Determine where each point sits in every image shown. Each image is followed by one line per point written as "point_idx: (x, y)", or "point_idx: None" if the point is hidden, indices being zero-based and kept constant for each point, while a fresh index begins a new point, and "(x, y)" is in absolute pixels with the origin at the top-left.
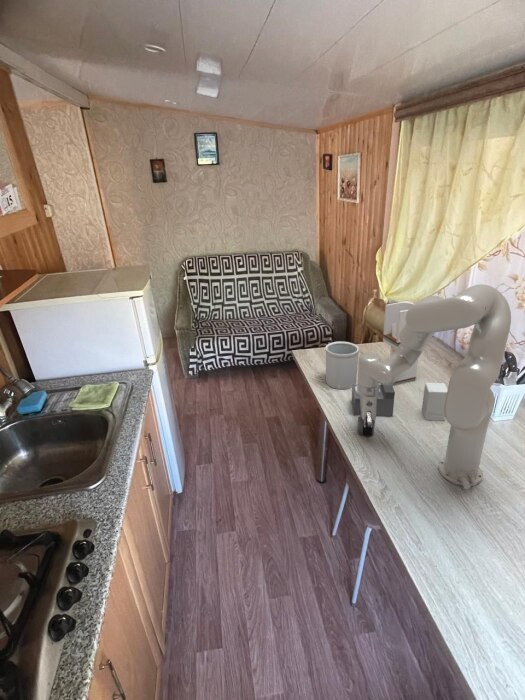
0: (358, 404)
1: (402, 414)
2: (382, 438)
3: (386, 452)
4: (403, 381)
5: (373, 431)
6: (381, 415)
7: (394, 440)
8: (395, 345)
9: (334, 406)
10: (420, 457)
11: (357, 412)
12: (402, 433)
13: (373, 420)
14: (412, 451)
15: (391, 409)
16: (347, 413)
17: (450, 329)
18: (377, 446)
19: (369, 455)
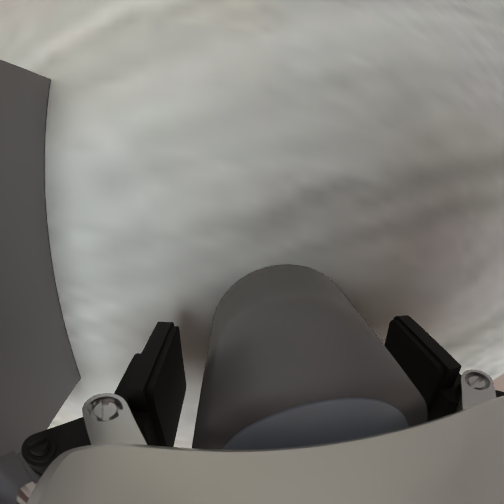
0: (21, 417)
1: (42, 20)
2: (377, 203)
3: (496, 210)
4: None
5: (333, 287)
6: (39, 170)
7: (397, 110)
8: None
9: None
10: (501, 41)
11: (61, 374)
12: (296, 21)
13: (409, 380)
14: (476, 50)
15: (4, 78)
16: (71, 403)
17: None
18: (452, 259)
19: (495, 311)
